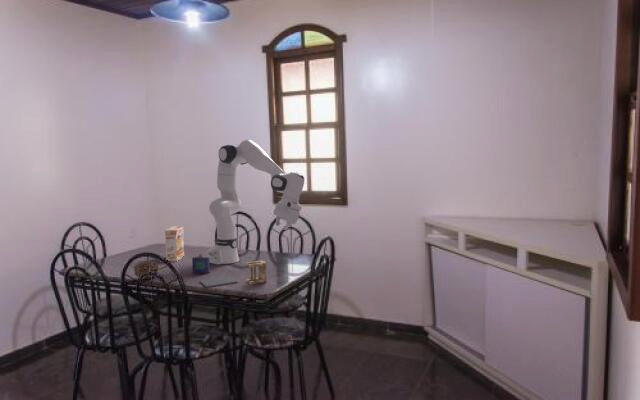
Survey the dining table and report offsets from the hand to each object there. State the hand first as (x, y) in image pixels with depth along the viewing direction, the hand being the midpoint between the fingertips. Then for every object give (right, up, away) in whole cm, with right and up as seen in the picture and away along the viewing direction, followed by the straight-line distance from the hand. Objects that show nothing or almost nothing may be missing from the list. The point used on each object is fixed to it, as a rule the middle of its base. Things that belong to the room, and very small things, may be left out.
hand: (281, 227), depth 244 cm
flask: (-45, -26, +11) cm, 53 cm away
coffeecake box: (-70, -22, +45) cm, 86 cm away
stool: (-12, -27, -7) cm, 31 cm away
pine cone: (-68, -27, +4) cm, 73 cm away
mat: (-31, -28, -8) cm, 42 cm away
